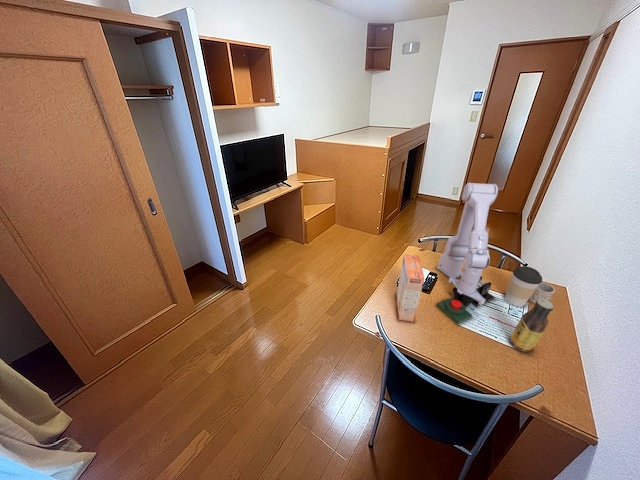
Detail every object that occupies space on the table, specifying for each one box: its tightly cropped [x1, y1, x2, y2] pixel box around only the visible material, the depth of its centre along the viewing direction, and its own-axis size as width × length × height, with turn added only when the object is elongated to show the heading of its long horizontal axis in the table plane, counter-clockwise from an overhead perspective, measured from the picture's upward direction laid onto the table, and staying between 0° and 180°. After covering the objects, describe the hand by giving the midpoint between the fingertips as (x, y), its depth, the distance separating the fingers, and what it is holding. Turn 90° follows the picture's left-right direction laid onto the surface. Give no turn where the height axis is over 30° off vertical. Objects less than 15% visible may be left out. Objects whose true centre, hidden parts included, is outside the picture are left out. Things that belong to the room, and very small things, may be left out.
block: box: [436, 297, 473, 325], centre depth 98 cm, size 10×7×4 cm
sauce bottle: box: [509, 299, 555, 353], centre depth 81 cm, size 7×6×20 cm
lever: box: [460, 279, 487, 303], centre depth 102 cm, size 12×3×3 cm, turn 113°
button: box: [450, 299, 463, 310], centre depth 97 cm, size 4×4×2 cm
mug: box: [528, 281, 556, 304], centre depth 103 cm, size 10×7×7 cm
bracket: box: [463, 276, 495, 308], centre depth 104 cm, size 10×8×8 cm
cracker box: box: [396, 253, 425, 323], centre depth 97 cm, size 14×6×21 cm, turn 168°
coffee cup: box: [504, 265, 543, 307], centre depth 100 cm, size 9×9×15 cm
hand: (460, 305), depth 104 cm, fingers closed on lever, 3 cm apart
